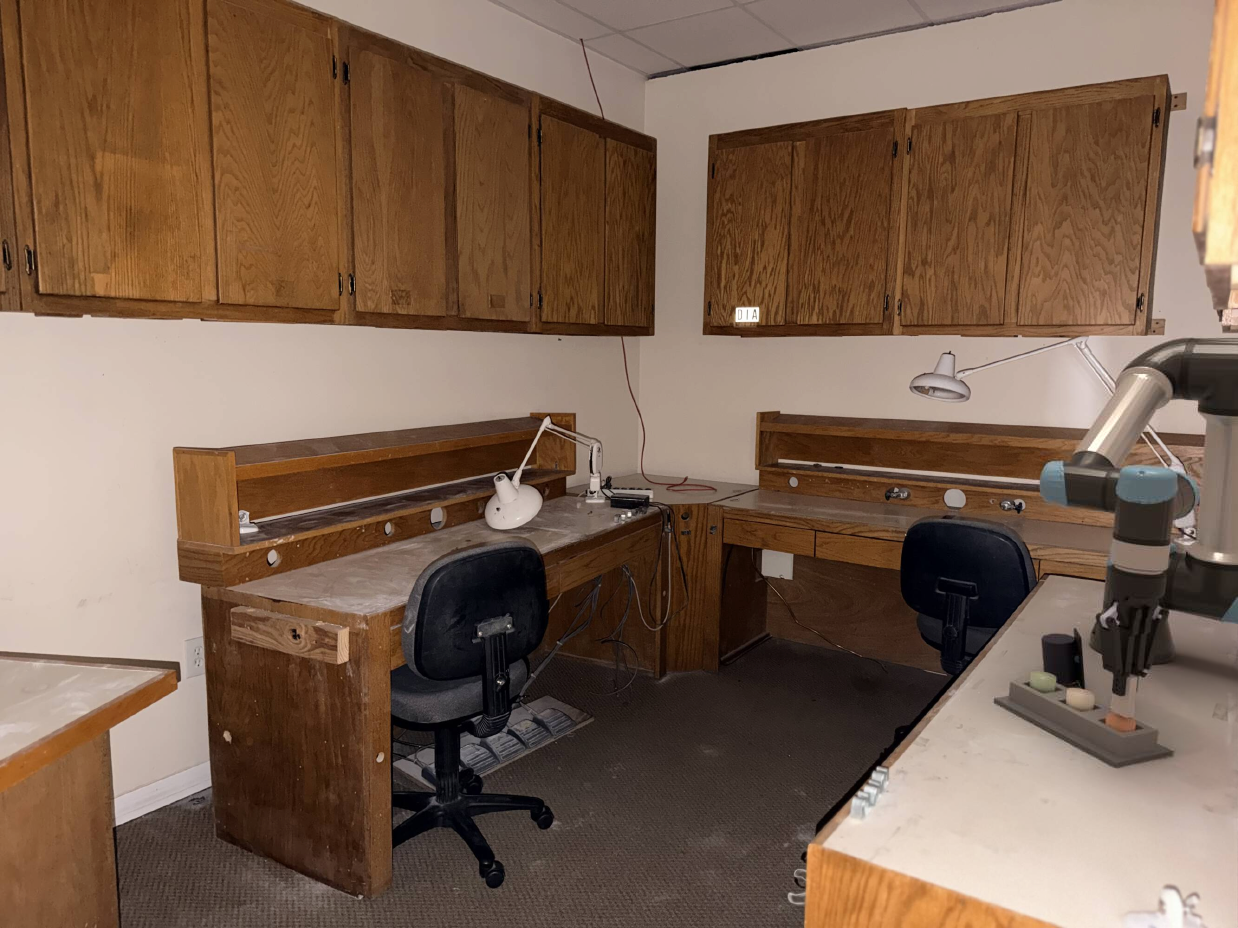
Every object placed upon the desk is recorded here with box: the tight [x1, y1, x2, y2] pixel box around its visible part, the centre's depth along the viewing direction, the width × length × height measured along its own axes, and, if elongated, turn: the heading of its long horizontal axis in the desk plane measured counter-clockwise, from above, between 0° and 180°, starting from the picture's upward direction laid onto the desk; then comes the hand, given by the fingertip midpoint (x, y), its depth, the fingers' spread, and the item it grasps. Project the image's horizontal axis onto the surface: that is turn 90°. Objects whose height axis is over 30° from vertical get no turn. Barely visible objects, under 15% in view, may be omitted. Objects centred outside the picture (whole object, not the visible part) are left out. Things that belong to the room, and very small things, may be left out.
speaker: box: [1040, 627, 1086, 690], centre depth 156 cm, size 8×6×10 cm
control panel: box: [993, 678, 1174, 769], centre depth 138 cm, size 24×12×4 cm, turn 20°
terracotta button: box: [1105, 713, 1136, 733], centre depth 131 cm, size 4×4×4 cm
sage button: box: [1029, 670, 1056, 694], centre depth 145 cm, size 4×4×4 cm
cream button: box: [1066, 687, 1095, 712], centre depth 138 cm, size 4×4×4 cm
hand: (1122, 713), depth 131 cm, fingers closed
